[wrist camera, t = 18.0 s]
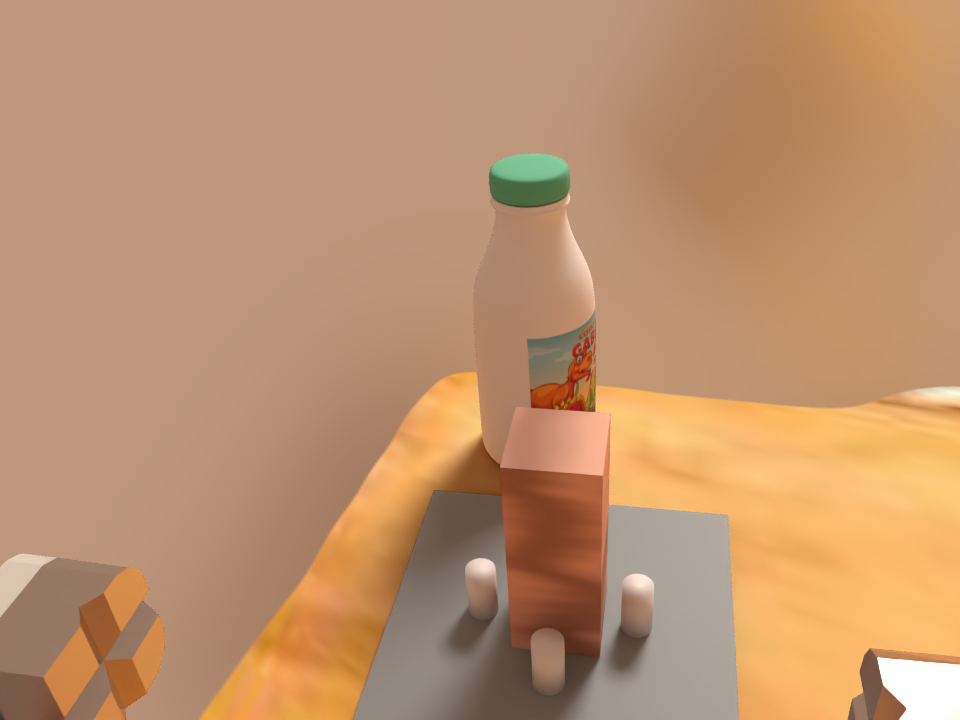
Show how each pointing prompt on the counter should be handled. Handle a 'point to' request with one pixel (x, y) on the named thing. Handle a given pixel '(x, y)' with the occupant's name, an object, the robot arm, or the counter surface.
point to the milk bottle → (532, 301)
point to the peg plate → (597, 686)
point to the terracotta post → (557, 525)
